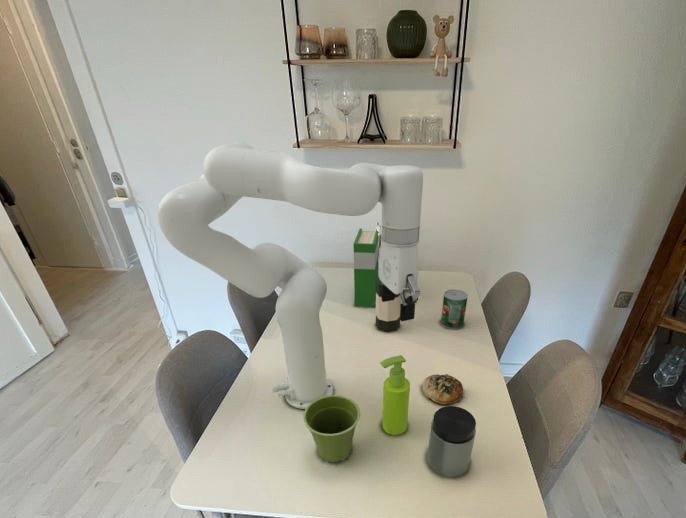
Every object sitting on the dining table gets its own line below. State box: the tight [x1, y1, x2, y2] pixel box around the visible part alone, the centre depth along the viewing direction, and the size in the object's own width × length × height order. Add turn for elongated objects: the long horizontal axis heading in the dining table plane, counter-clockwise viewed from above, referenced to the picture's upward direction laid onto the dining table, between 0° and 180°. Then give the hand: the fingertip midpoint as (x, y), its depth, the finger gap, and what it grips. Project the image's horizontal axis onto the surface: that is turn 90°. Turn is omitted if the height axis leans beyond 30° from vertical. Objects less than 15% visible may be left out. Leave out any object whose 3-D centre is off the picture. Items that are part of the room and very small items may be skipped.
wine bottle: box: [375, 276, 402, 333], centre depth 123 cm, size 8×8×30 cm
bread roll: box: [421, 373, 464, 405], centre depth 101 cm, size 11×11×5 cm
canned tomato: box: [440, 289, 469, 330], centre depth 130 cm, size 8×8×11 cm
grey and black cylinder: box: [426, 405, 477, 478], centre depth 80 cm, size 9×9×12 cm
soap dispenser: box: [379, 354, 411, 436], centre depth 86 cm, size 6×7×20 cm
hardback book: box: [353, 228, 380, 308], centre depth 144 cm, size 18×7×24 cm, turn 174°
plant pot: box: [302, 394, 361, 463], centre depth 83 cm, size 12×12×11 cm
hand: (397, 309), depth 86 cm, fingers open, 9 cm apart
